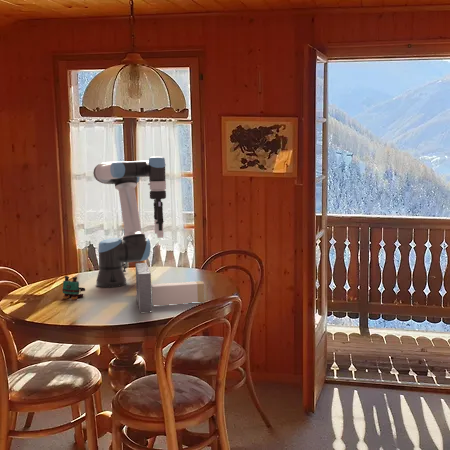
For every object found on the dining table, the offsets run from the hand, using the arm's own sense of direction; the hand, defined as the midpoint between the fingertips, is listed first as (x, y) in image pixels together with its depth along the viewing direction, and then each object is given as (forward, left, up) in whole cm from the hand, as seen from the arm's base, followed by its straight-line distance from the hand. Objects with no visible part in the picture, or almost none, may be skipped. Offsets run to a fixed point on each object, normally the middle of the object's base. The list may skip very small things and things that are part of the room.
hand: (159, 235), depth 293 cm
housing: (+19, +4, -29) cm, 35 cm away
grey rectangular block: (+9, +16, -29) cm, 34 cm away
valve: (-31, -52, -29) cm, 68 cm away
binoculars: (+21, -35, -29) cm, 50 cm away
